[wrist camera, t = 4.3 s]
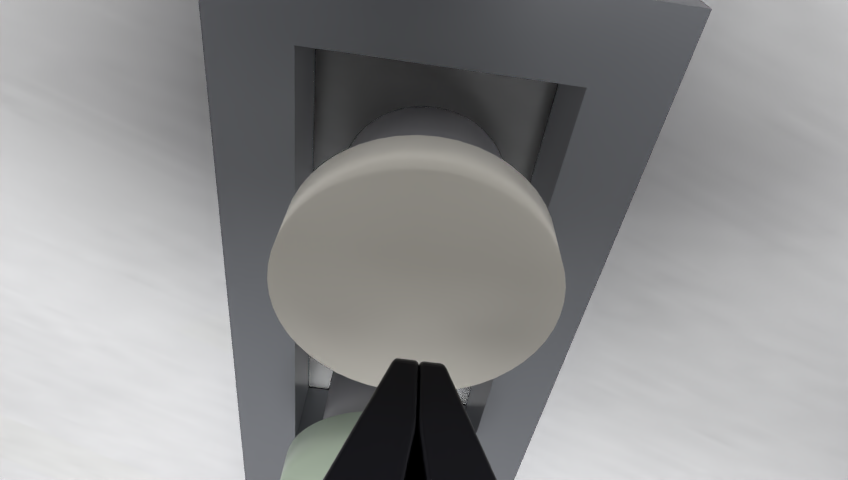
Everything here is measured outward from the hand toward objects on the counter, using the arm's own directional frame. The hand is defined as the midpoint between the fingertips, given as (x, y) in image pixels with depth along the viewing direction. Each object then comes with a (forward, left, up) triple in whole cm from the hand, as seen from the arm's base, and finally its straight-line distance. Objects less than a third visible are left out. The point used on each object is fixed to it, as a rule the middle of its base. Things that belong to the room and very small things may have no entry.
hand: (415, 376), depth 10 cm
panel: (0, +8, -8) cm, 11 cm away
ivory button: (0, 0, -6) cm, 6 cm away
